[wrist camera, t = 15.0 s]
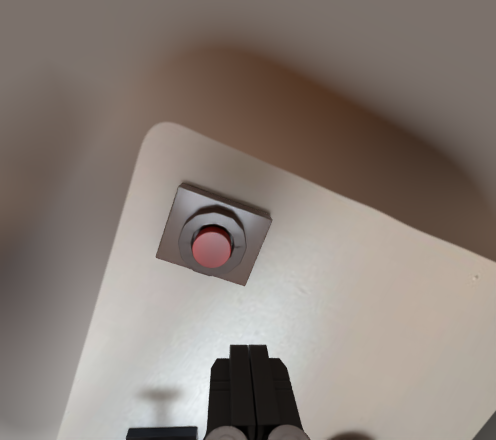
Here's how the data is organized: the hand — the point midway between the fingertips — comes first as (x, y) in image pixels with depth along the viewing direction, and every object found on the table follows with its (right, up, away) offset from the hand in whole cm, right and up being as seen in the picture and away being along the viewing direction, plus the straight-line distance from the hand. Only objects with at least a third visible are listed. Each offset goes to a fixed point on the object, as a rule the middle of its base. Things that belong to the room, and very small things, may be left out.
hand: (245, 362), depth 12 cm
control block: (-4, +4, +21) cm, 21 cm away
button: (-3, +4, +17) cm, 18 cm away
